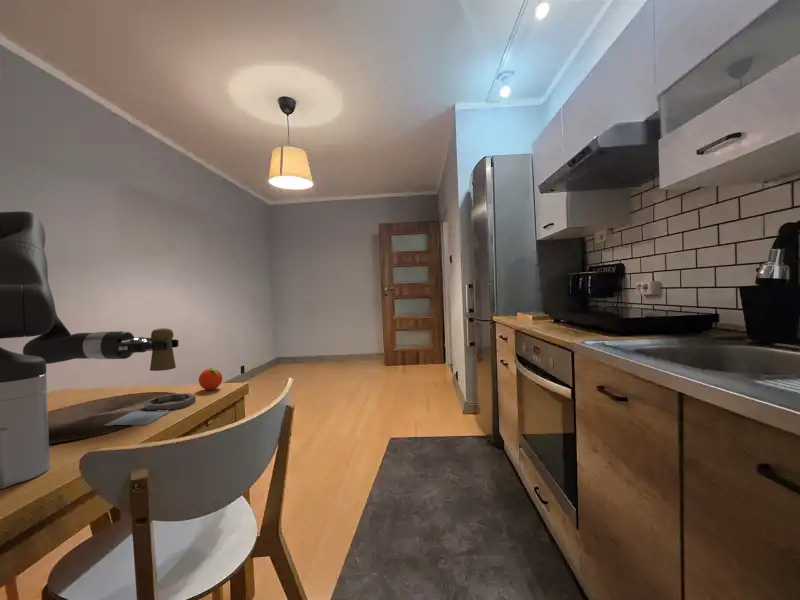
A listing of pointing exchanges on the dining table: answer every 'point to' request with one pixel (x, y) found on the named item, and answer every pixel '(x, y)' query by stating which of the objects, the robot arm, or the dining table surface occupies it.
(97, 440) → the dining table surface
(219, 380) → the clementine
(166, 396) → the dark grey flat ring
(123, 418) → the rubber mat
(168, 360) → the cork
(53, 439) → the dining table surface
